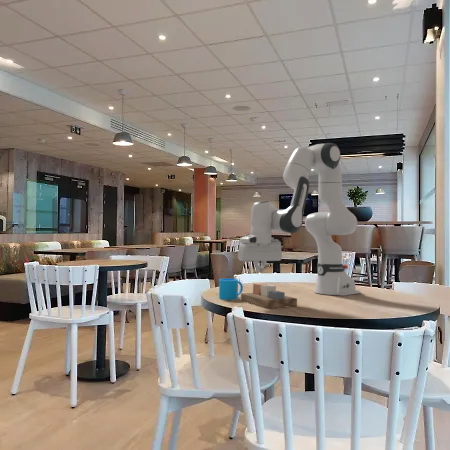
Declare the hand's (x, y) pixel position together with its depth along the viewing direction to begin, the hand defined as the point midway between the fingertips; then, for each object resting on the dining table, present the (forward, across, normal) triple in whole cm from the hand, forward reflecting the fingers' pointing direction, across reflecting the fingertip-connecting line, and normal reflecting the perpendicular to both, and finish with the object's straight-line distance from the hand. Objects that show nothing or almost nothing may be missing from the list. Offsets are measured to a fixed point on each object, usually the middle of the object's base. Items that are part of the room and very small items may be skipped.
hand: (260, 271), depth 181 cm
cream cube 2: (+10, 0, +6) cm, 11 cm away
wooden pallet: (+12, 0, +6) cm, 14 cm away
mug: (+13, +6, -12) cm, 19 cm away
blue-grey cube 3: (+12, 0, +12) cm, 16 cm away
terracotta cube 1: (+10, 0, 0) cm, 10 cm away
